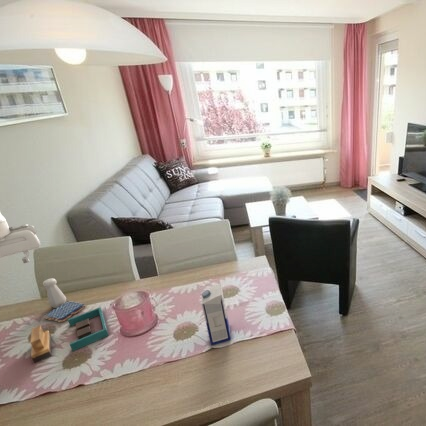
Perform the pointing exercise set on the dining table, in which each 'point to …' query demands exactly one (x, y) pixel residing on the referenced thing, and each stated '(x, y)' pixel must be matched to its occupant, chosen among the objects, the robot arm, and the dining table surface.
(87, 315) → the corral
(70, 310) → the woven mat
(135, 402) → the dining table surface
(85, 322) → the chip
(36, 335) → the brush
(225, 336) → the milk carton
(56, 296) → the salt shaker
